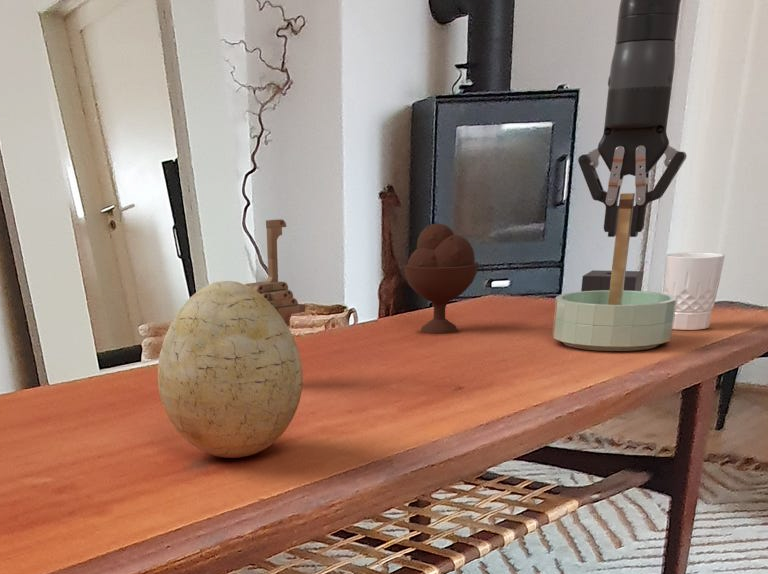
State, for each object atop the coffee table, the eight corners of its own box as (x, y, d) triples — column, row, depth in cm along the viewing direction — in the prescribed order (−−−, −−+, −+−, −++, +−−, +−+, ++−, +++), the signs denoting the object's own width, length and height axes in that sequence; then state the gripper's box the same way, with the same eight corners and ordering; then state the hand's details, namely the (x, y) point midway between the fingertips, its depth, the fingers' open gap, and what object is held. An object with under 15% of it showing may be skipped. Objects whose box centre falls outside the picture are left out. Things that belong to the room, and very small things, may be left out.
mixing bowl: (676, 336, 137) (683, 291, 134) (662, 355, 124) (669, 307, 122) (564, 331, 143) (569, 289, 140) (540, 349, 131) (544, 303, 128)
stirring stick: (618, 336, 134) (635, 193, 126) (616, 338, 132) (633, 193, 124) (605, 335, 134) (622, 193, 126) (603, 337, 133) (620, 193, 125)
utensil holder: (638, 309, 161) (643, 271, 158) (631, 316, 154) (636, 276, 151) (588, 308, 164) (592, 270, 161) (578, 314, 157) (582, 275, 155)
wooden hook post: (271, 376, 120) (266, 218, 112) (308, 383, 115) (305, 219, 107) (159, 399, 110) (145, 227, 102) (195, 408, 105) (183, 229, 97)
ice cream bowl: (397, 335, 144) (399, 226, 137) (411, 324, 154) (413, 221, 147) (468, 337, 141) (474, 225, 134) (478, 325, 151) (484, 220, 144)
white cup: (670, 321, 149) (679, 251, 144) (721, 325, 144) (733, 253, 139) (647, 328, 144) (656, 256, 139) (700, 332, 139) (711, 258, 134)
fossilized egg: (241, 430, 96) (233, 269, 90) (333, 453, 88) (331, 278, 81) (136, 456, 89) (119, 283, 82) (225, 484, 80) (214, 294, 74)
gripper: (702, 84, 120) (681, 234, 128) (588, 90, 126) (574, 234, 133) (696, 80, 114) (674, 239, 122) (577, 87, 120) (563, 238, 127)
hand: (622, 235), depth 128 cm, fingers closed
